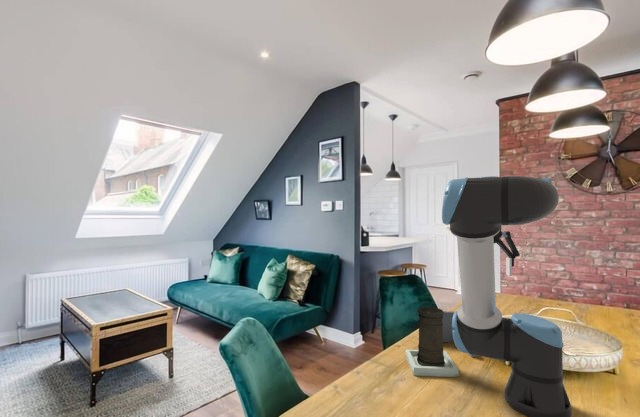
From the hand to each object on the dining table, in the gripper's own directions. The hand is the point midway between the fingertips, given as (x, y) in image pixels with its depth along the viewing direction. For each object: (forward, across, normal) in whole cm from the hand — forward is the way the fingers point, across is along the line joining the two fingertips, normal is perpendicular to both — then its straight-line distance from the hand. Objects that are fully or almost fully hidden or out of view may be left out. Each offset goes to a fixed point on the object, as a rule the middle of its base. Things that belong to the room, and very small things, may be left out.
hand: (489, 275), depth 125 cm
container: (+28, +25, +13) cm, 40 cm away
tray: (+29, +25, +13) cm, 40 cm away
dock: (+29, +15, -2) cm, 32 cm away
